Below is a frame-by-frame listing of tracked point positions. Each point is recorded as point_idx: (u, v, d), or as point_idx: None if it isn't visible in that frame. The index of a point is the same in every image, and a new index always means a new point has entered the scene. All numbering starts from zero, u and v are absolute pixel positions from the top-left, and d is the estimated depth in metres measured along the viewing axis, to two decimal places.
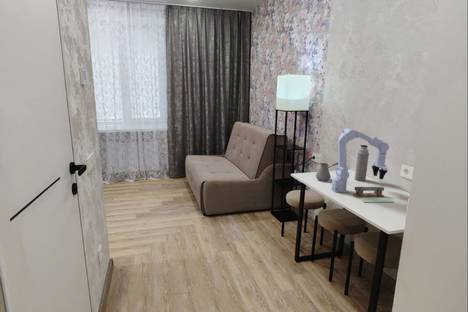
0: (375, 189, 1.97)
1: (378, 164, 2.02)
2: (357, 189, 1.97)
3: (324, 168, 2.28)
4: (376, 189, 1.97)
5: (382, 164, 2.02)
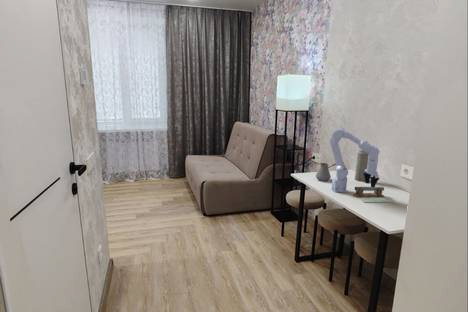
0: (375, 189, 1.97)
1: (369, 171, 1.94)
2: (357, 189, 1.97)
3: (324, 168, 2.28)
4: (376, 189, 1.97)
5: (374, 171, 1.93)
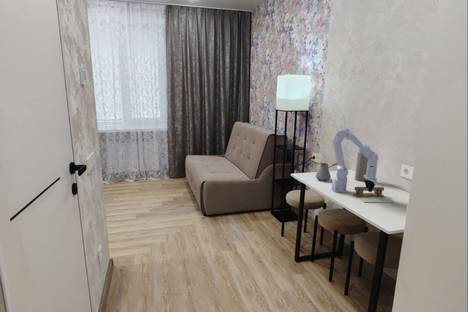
0: (375, 189, 1.97)
1: (369, 177, 1.95)
2: (357, 189, 1.97)
3: (324, 168, 2.28)
4: (376, 189, 1.97)
5: (373, 177, 1.94)
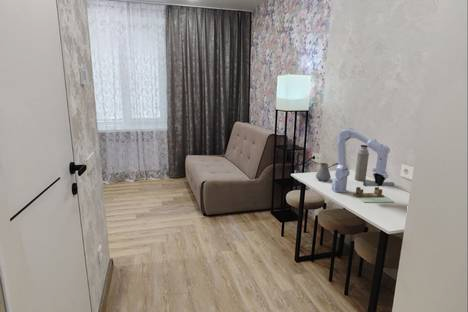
0: (385, 184, 1.88)
1: (378, 171, 1.85)
2: (366, 185, 1.87)
3: (324, 168, 2.28)
4: (386, 184, 1.88)
5: (383, 171, 1.84)
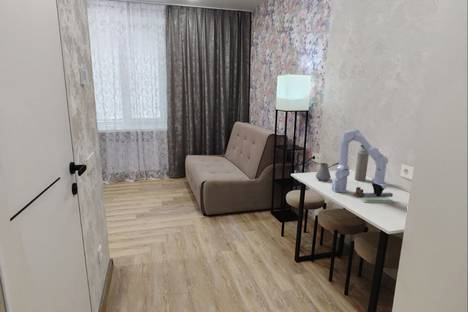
0: (383, 195, 1.90)
1: (377, 181, 1.86)
2: (365, 195, 1.89)
3: (324, 168, 2.28)
4: (384, 195, 1.90)
5: (381, 181, 1.85)
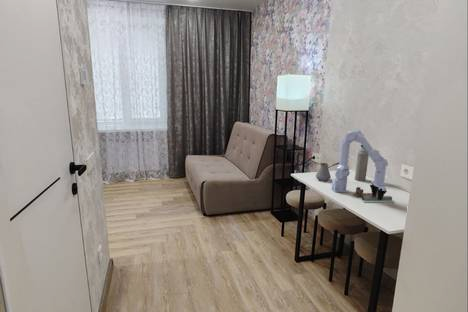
0: (383, 198, 1.90)
1: (377, 184, 1.87)
2: (364, 199, 1.89)
3: (324, 168, 2.28)
4: (384, 198, 1.90)
5: (381, 184, 1.86)
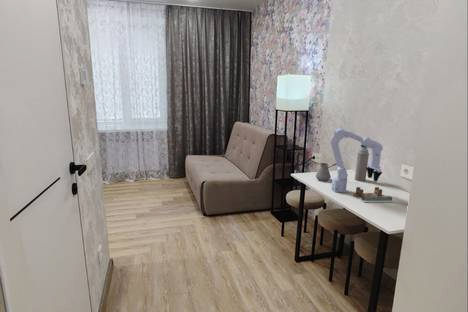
0: (383, 198, 1.90)
1: (372, 166, 1.97)
2: (364, 199, 1.89)
3: (324, 168, 2.28)
4: (384, 198, 1.90)
5: (376, 166, 1.96)
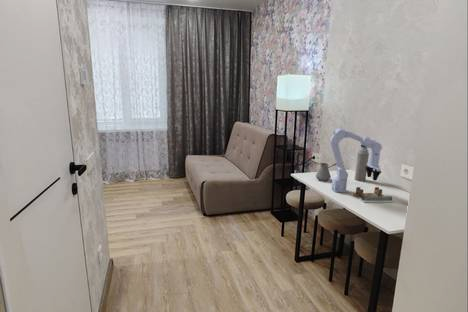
0: (383, 198, 1.90)
1: (372, 165, 1.98)
2: (364, 199, 1.89)
3: (324, 168, 2.28)
4: (384, 198, 1.90)
5: (376, 165, 1.98)
